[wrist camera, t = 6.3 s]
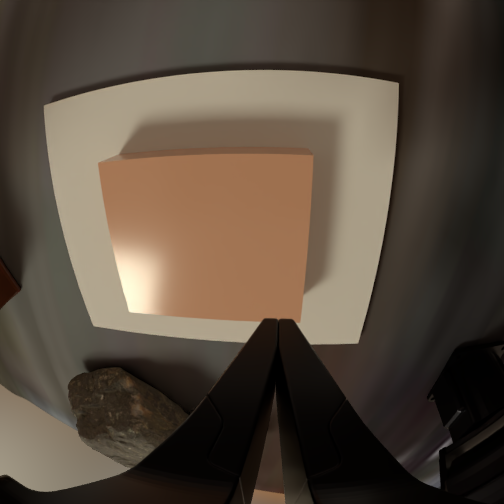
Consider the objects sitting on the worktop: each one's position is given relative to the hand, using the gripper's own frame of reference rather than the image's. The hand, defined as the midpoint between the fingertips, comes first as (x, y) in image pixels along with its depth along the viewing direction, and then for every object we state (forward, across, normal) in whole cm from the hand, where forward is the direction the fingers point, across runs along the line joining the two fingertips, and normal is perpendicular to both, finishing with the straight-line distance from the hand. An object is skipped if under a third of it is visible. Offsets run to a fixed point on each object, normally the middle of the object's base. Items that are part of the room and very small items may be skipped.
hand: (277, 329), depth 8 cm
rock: (+8, +10, +18) cm, 22 cm away
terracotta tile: (+6, -1, 0) cm, 6 cm away
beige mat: (+7, +4, 0) cm, 8 cm away
